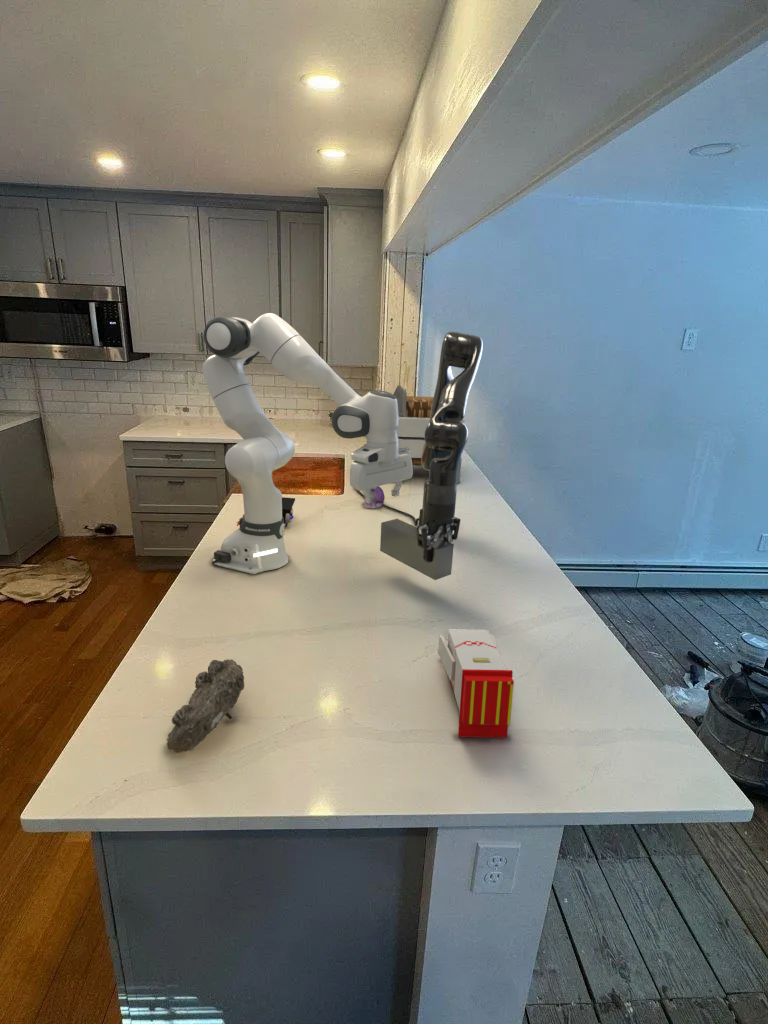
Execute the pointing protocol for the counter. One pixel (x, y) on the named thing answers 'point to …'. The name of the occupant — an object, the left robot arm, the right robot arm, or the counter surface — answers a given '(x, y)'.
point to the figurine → (375, 498)
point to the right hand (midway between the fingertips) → (436, 558)
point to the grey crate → (414, 424)
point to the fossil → (206, 705)
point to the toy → (478, 682)
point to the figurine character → (287, 509)
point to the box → (415, 549)
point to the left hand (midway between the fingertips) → (382, 499)
